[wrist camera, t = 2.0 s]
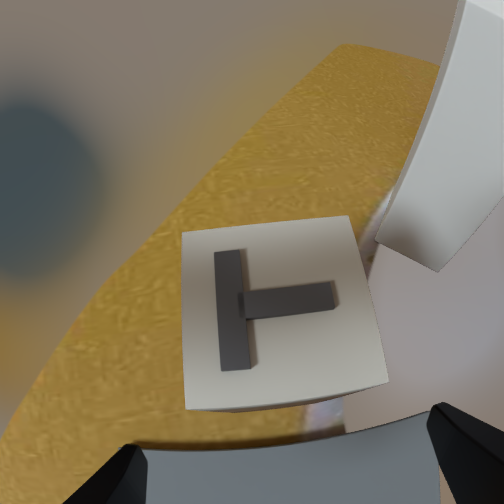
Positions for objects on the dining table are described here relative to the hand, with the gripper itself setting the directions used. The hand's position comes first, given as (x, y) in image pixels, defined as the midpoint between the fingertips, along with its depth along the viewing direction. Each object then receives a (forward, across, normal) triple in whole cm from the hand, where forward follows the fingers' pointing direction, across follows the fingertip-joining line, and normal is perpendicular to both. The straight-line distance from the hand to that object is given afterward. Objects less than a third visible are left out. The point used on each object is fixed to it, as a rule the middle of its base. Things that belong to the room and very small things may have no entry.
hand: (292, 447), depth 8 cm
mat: (+2, 0, +12) cm, 13 cm away
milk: (+17, -13, -1) cm, 21 cm away
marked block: (+10, 0, +5) cm, 11 cm away
